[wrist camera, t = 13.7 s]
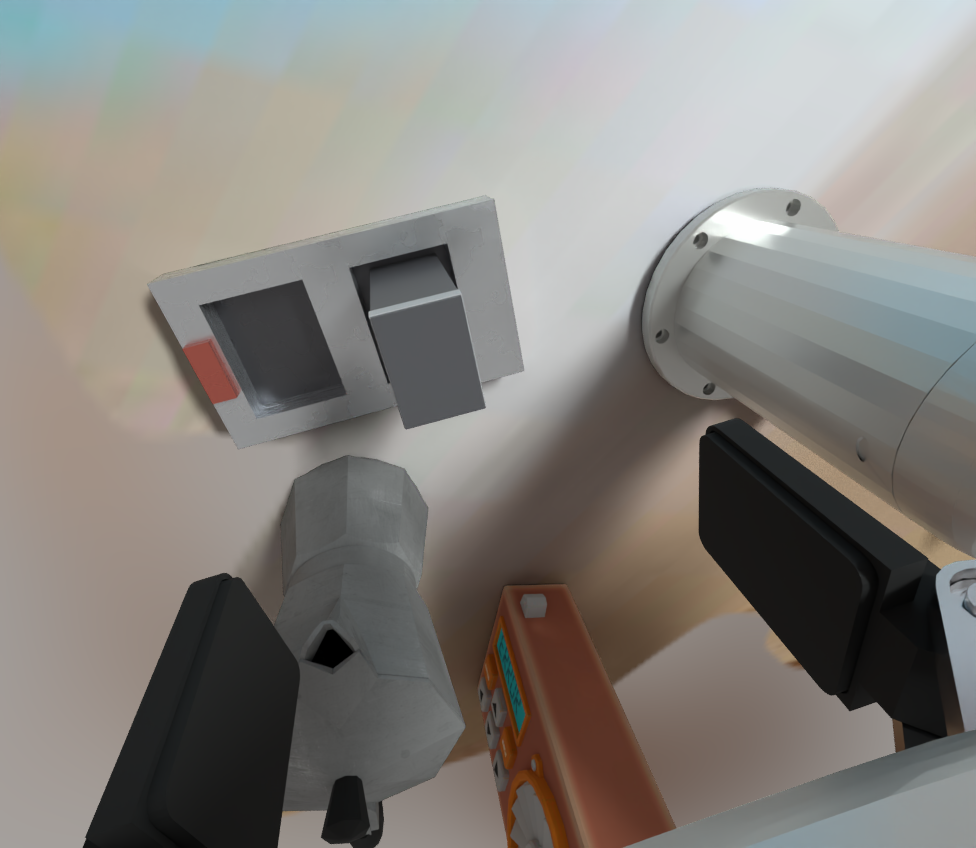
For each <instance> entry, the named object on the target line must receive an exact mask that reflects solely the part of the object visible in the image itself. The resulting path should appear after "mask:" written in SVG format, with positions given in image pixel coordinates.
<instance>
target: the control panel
mask: <svg viewBox="0 0 976 848" xmlns="http://www.w3.org/2000/svg"><path fill="white" fill-rule="evenodd" d="M477 690H478V695H479V701H480V706H481V711H482V716H483V721H484V726H485V731H486V736H487V741H488V746H489V751H490V756H491V761H492V766H493V771H494V776H495V781H496V786H497V791H498V795H499V801H500V806H501V811H502V816H503V821H504V826H505V831H506V836H507V841H508V842H507V843H508V848H623V847H626V846H629V845H632V844H634V843H637V842H640V841H643V840H646V839H648V838H651V837H654V836H657V835H660V834H662V833H665V832H668V831H671V830H674V829H676V826H675V824H674V822H673V819H672V817H671V815H670V813H669V810H668V808H667V806H666V804H665V802H664V799H663V798H662V795H661V793H660V790H659V788H658V786H657V784H656V782H655V780H654V777H653V775H652V773H651V770H650V768H649V766H648V764H647V762H646V759H645V757H644V755H643V753H642V751H641V749H640V746H639V744H638V742H637V739H636V737H635V735H634V733H633V730H632V728H631V726H630V724H629V722H628V719H627V717H626V715H625V713H624V710H623V708H622V706H621V704H620V702H619V699H618V697H617V695H616V693H615V690H614V688H613V686H612V684H611V682H610V679H609V677H608V675H607V673H606V670H605V668H604V666H603V664H602V662H601V659H600V657H599V655H598V653H597V650H596V648H595V646H594V644H593V642H592V639H591V637H590V635H589V633H588V630H587V628H586V626H585V624H584V622H583V619H582V617H581V615H580V613H579V610H578V608H577V606H576V604H575V602H574V599H573V597H572V595H571V593H570V590H569V588H568V586H567V585H566V584H547V585H506V586H504V588H503V592H502V596H501V600H500V603H499V607H498V611H497V615H496V619H495V623H494V626H493V630H492V634H491V638H490V642H489V645H488V649H487V653H486V657H485V661H484V664H483V668H482V672H481V676H480V680H479V684H478V687H477Z"/></svg>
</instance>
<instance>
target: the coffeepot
mask: <svg viewBox="0 0 976 848" xmlns="http://www.w3.org/2000/svg"><path fill="white" fill-rule="evenodd" d="M427 516H428V507H427V505H426V503H425V502H424V500H423V498H422V496H421V494H420V492H419V490H418V489H417V487H416V485H415V484H414V483H413V481H412V480H411V479H410V477H409V475H408V474H407V472H406V470H405V469H404V468H401V467H398V466H395V465H392V464H389V463H386V462H383V461H380V460H376V459H370V458H363V457H361V458H357V457H353V456H349V455H348V456H345V457H342V458H339V459H337V460H334V461H331V462H328V463H325V464H322V465H320V466H319V467H317V468H315V469H313V470H312V471H310V472H309V473H307V474H306V475H303V476H301V477H299V478H297V479H295V480H294V483H293V486H292V489H291V493H290V496H289V499H288V502H287V505H286V509H285V512H284V515H283V518H282V522H281V549H282V574H283V595H284V596H285V598H284V601H283V603H282V606H281V609H280V611H279V614H278V617H277V619H276V622H275V625H274V627H275V629H276V630H277V632H278V633H279V635H280V636H281V637H282V639H283V640H284V642H285V643H286V645H287V646H288V648H289V649H290V651H291V652H292V654H293V655H294V657H295V658H296V660H297V662H298V665H299V669H300V683H299V691H298V698H297V706H296V713H295V721H294V728H293V735H292V743H291V750H290V758H289V765H288V773H287V780H286V788H285V795H284V802H283V810H282V811H318V810H327V813H326V818H325V822H324V827H323V831H322V835H321V838H323V839H324V840H325V841H327V842H328V843H330V844H340V843H341V844H342V843H350V844H351V845H352V847H353V848H374V847H375V846H376V845H377V844H378V843H379V841H380V839H381V837H382V832H383V822H384V817H383V806H382V800H384V799H386V798H389V797H391V796H393V795H395V794H398V793H400V792H402V791H405V790H407V789H409V788H411V787H413V786H416V785H418V784H420V783H423V782H425V781H427V780H430V779H432V778H434V777H435V776H436V774H437V773H438V771H439V770H440V768H441V766H442V765H443V763H444V762H445V760H446V758H447V757H448V755H449V753H450V752H451V750H452V748H453V747H454V745H455V744H456V742H457V740H458V739H459V737H460V735H461V734H462V732H463V730H464V729H465V727H466V726H465V723H464V720H463V717H462V713H461V710H460V707H459V704H458V701H457V698H456V695H455V692H454V688H453V685H452V682H451V679H450V676H449V673H448V670H447V667H446V663H445V660H444V657H443V654H442V651H441V648H440V645H439V642H438V638H437V635H436V632H435V629H434V626H433V623H432V620H431V617H430V613H429V610H428V608H427V606H426V604H425V603H424V601H423V599H422V598H421V596H420V595H419V593H418V592H417V588H418V585H419V581H420V578H421V575H422V565H423V555H424V546H425V536H426V526H427Z"/></svg>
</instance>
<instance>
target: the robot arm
mask: <svg viewBox="0 0 976 848" xmlns="http://www.w3.org/2000/svg"><path fill="white" fill-rule="evenodd" d="M694 238H695V239H694ZM642 333H643V339H644V344H645V349H646V352H647V354H648V356H649V359H650V361H651V363H652V365H653V366H654V368H655V369H656V370H657V372H658V373H659V374H660V376H661V377H663V378H664V379H665V380H666V381H667V382H668V383H669V384H671V385H672V386H673V387H675V388H676V389H678V390H680V391H681V392H683V393H684V394H687V395H690V396H693V397H696V398H699V399H708V400H721V399H731V398H735V399H737V400H738V401H740V402H741V403H743V404H744V405H745V406H747V407H748V408H750V409H751V410H753V411H754V412H756V413H757V414H758V415H760V416H761V417H763V418H764V419H766V420H767V421H769V422H770V423H771V424H773V425H774V426H776V427H777V428H779V429H780V430H782V431H783V432H785V433H786V434H787V435H789V436H790V437H792V438H793V439H795V440H796V441H798V442H799V443H800V444H802V445H803V446H805V447H806V448H808V449H809V450H811V451H812V452H813V453H815V454H816V455H818V456H819V457H821V458H822V459H824V460H825V461H826V462H828V463H829V464H831V465H832V466H834V467H835V468H837V469H838V470H839V471H841V472H842V473H844V474H845V475H847V476H848V477H850V478H851V479H852V480H854V481H855V482H857V483H858V484H860V485H861V486H863V487H864V488H865V489H867V490H868V491H870V492H871V493H873V494H874V495H876V496H877V497H878V498H880V499H881V500H883V501H884V502H886V503H887V504H889V505H890V506H892V507H893V508H894V509H896V510H897V511H899V512H900V513H902V514H903V515H905V516H906V517H907V518H909V519H910V520H912V521H914V522H915V523H917V524H918V525H920V526H921V527H923V528H924V529H926V530H927V531H928V532H930V533H931V534H933V535H934V536H936V537H937V538H939V539H940V540H942V541H944V542H945V543H947V544H949V545H950V546H952V547H954V548H955V549H957V550H959V551H961V552H963V553H965V554H967V555H969V556H971V557H973V558H976V257H975V256H970V255H964V254H959V253H953V252H948V251H942V250H937V249H931V248H926V247H920V246H915V245H909V244H904V243H899V242H893V241H888V240H882V239H877V238H871V237H866V236H860V235H855V234H849V233H844V232H839V230H838V228H837V225H836V223H835V221H834V219H833V218H832V217H831V215H830V214H829V212H828V211H827V210H826V208H825V207H824V206H822V205H821V204H820V203H818V202H817V201H816V200H815V199H813V198H812V197H810V196H807V195H805V194H802V193H800V192H797V191H793V190H786V189H779V188H756V189H752V190H748V191H744V192H740V193H736V194H734V195H732V196H730V197H727V198H725V199H723V200H721V201H719V202H717V203H715V204H714V205H712V206H711V207H709V208H708V209H706V210H705V211H704V212H702V213H701V214H699V215H698V216H697V217H696V218H694V219H693V220H692V221H691V222H690V223H689V224H688V225H687V226H686V227H685V228H684V229H683V230H682V231H681V232H680V233H679V234H678V236H677V237H676V238H675V240H674V241H673V242H672V243H671V245H670V246H669V247H668V249H667V250H666V251H665V253H664V255H663V257H662V258H661V260H660V262H659V264H658V266H657V267H656V269H655V271H654V273H653V276H652V279H651V281H650V284H649V287H648V289H647V292H646V297H645V302H644V308H643V314H642ZM699 536H700V539H701V542H702V544H703V546H704V548H705V549H706V550H707V552H708V553H709V554H710V555H711V556H712V558H713V559H714V560H715V561H716V562H717V564H718V565H719V566H720V567H721V568H722V570H723V571H724V572H725V573H726V575H727V576H728V577H729V578H730V579H731V581H732V582H733V583H734V584H735V585H736V587H737V588H738V589H739V590H740V591H741V593H742V594H743V595H744V596H745V598H746V599H747V600H748V601H749V602H750V604H751V605H752V606H753V607H754V608H755V610H756V611H757V612H758V613H759V614H760V616H761V617H762V618H763V619H764V621H765V622H766V623H767V624H768V625H769V627H770V628H771V629H772V630H773V631H774V633H775V634H776V635H777V636H778V637H779V639H780V640H781V641H782V642H783V644H784V645H785V646H786V647H787V648H788V650H789V651H790V652H791V653H792V654H793V656H794V657H795V658H796V659H797V660H798V662H799V663H800V664H801V665H802V667H803V668H804V669H805V670H806V671H807V673H808V674H809V675H810V676H811V677H812V679H813V680H814V681H815V682H816V683H817V684H818V686H819V687H820V688H821V689H822V690H823V691H824V692H825V693H827V694H829V695H837V697H838V698H839V699H840V700H841V701H842V703H843V704H844V705H845V706H846V707H847V709H848V710H849V711H852V710H855V709H858V708H861V707H863V706H866V705H869V704H872V703H875V702H877V703H878V704H879V705H880V706H881V707H882V708H883V709H884V710H885V712H886V713H887V714H888V715H889V716H890V717H891V718H892V721H893V731H894V742H895V752H896V753H894V754H890V755H887V756H885V757H881V758H878V759H875V760H872V761H869V762H866V763H863V764H860V765H857V766H854V767H851V768H848V769H845V770H842V771H839V772H836V773H833V774H830V775H827V776H825V777H822V778H819V779H816V780H813V781H810V782H807V783H804V784H802V785H799V786H796V787H793V788H790V789H787V790H785V791H782V792H779V793H776V794H773V795H770V796H767V797H765V798H762V799H759V800H756V801H753V802H750V803H747V804H745V805H742V806H739V807H736V808H733V809H730V810H728V811H725V812H722V813H719V814H716V815H713V816H710V817H708V818H705V819H702V820H699V821H696V822H693V823H691V824H688V825H685V826H682V827H679V828H676V829H674V830H671V831H668V832H665V833H662V834H660V835H657V836H654V837H651V838H648V839H646V840H643V841H640V842H637V843H634V844H632V845H629V846H626V847H623V848H976V560H965V561H957V562H953V563H951V564H949V565H947V566H944V567H943V568H942V569H940V568H938V567H937V566H936V565H934V564H933V563H932V562H930V561H929V560H928V558H927V557H926V556H925V555H923V554H922V553H921V552H919V551H918V550H916V549H915V548H914V547H912V546H911V545H910V544H908V543H907V542H906V541H904V540H903V539H902V538H900V537H899V536H898V535H896V534H895V533H894V532H892V531H891V530H890V529H888V528H887V527H886V526H884V525H883V524H881V523H880V522H879V521H877V520H876V519H875V518H873V517H872V516H871V515H869V514H868V513H867V512H865V511H864V510H863V509H861V508H860V507H859V506H857V505H856V504H855V503H853V502H852V501H850V500H849V499H848V498H846V497H845V496H844V495H842V494H841V493H840V492H838V491H837V490H836V489H834V488H833V487H832V486H830V485H829V484H828V483H826V482H825V481H824V480H822V479H821V478H819V477H818V476H817V475H815V474H814V473H813V472H811V471H810V470H809V469H807V468H806V467H805V466H803V465H802V464H801V463H799V462H798V461H797V460H795V459H794V458H793V457H791V456H790V455H788V454H787V453H786V452H784V451H783V450H782V449H780V448H779V447H778V446H776V445H775V444H774V443H772V442H771V441H770V440H768V439H767V438H766V437H764V436H763V435H762V434H760V433H759V432H758V431H756V430H755V429H753V428H752V427H751V426H749V425H748V424H747V423H745V422H744V421H742V420H741V419H737V418H735V419H731V420H728V421H725V422H722V423H718V424H715V425H712V426H709V427H708V428H707V430H706V435H704V436H702V437H701V438H700V443H699ZM299 683H300V669H299V665H298V662H297V660H296V658H295V657H294V655H293V654H292V652H291V651H290V649H289V648H288V646H287V645H286V643H285V642H284V640H283V639H282V637H281V636H280V635H279V633H278V632H277V630H276V629H275V627H274V626H273V624H272V623H271V621H270V620H269V618H268V617H267V615H266V614H265V613H264V611H263V610H262V608H261V607H260V605H259V604H258V602H257V601H256V599H255V598H254V596H253V595H252V593H251V592H250V590H249V589H248V588H247V586H246V585H245V583H244V582H243V581H242V579H241V578H239V577H235V578H232V577H231V576H230V575H229V574H227V573H222V574H219V575H215V576H212V577H209V578H205V579H202V580H199V581H196V582H194V583H192V584H191V585H190V587H189V588H188V591H187V593H186V595H185V598H184V600H183V602H182V605H181V607H180V610H179V612H178V615H177V617H176V619H175V622H174V624H173V627H172V629H171V631H170V634H169V637H168V639H167V641H166V643H165V646H164V649H163V651H162V653H161V656H160V658H159V660H158V663H157V665H156V668H155V670H154V672H153V675H152V677H151V680H150V682H149V685H148V687H147V690H146V692H145V694H144V697H143V699H142V702H141V704H140V706H139V709H138V711H137V714H136V716H135V718H134V721H133V723H132V726H131V729H130V730H129V733H128V736H127V738H126V740H125V743H124V745H123V747H122V750H121V752H120V755H119V757H118V759H117V762H116V764H115V767H114V769H113V772H112V774H111V777H110V779H109V781H108V784H107V786H106V789H105V791H104V793H103V796H102V798H101V801H100V803H99V805H98V808H97V810H96V813H95V815H94V818H93V820H92V822H91V825H90V827H89V829H88V832H87V834H86V841H85V843H84V846H83V848H277V847H278V839H279V832H280V825H281V817H282V810H283V802H284V795H285V788H286V780H287V773H288V765H289V758H290V750H291V743H292V735H293V728H294V721H295V713H296V706H297V698H298V691H299Z"/></svg>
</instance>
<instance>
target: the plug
mask: <svg viewBox="0 0 976 848" xmlns="http://www.w3.org/2000/svg"><path fill="white" fill-rule="evenodd" d="M369 319H370V322H371V325H372V328H373V331H374V335H375V338H376V341H377V344H378V347H379V350H380V353H381V356H382V359H383V362H384V366H385V369H386V372H387V375H388V378H389V381H390V384H391V387H392V390H393V393H394V397H395V400H396V403H397V406H398V409H399V412H400V415H401V418H402V421H403V424H404V428H406V429H410V428H414V427H417V426H421V425H425V424H429V423H432V422H436V421H440V420H443V419H447V418H451V417H455V416H458V415H462V414H466V413H469V412H473V411H477V410H481V409H484V408H486V404H485V399H484V394H483V390H482V385H481V380H480V376H479V371H478V367H477V362H476V357H475V353H474V348H473V344H472V339H471V334H470V330H469V325H468V321H467V316H466V311H465V307H464V302H463V298H462V293H461V291H460V290H459V289H457V288H456V287H455V285H454V283H453V282H452V280H451V278H450V277H449V275H448V273H447V272H446V270H445V269H444V267H443V265H442V264H441V262H440V260H439V259H438V257H437V255H436V254H435V253H434V254H430V255H426V256H422V257H417V258H413V259H409V260H405V261H401V262H397V263H392V264H388V265H384V266H380V267H376V268H372V269H370V311H369Z"/></svg>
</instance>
